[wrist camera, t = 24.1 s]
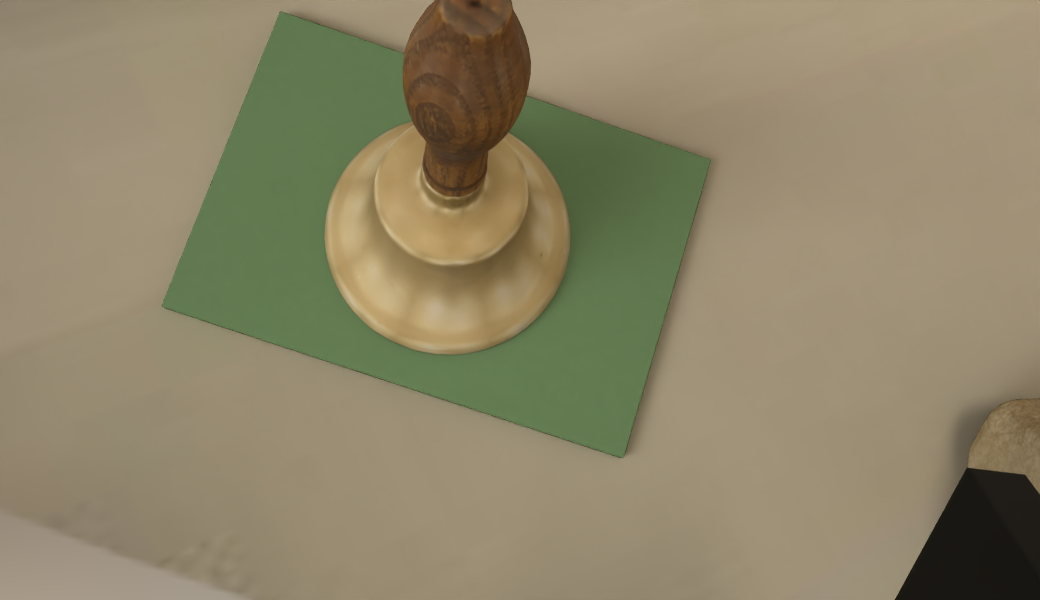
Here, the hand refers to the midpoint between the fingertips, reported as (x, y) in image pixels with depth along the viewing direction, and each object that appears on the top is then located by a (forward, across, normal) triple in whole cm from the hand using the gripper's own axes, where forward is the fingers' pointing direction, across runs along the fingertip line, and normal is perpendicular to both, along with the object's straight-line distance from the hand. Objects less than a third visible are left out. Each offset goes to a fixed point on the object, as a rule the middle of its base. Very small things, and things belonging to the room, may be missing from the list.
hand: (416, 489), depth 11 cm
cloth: (+20, 0, -7) cm, 21 cm away
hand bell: (+20, 0, -7) cm, 21 cm away
